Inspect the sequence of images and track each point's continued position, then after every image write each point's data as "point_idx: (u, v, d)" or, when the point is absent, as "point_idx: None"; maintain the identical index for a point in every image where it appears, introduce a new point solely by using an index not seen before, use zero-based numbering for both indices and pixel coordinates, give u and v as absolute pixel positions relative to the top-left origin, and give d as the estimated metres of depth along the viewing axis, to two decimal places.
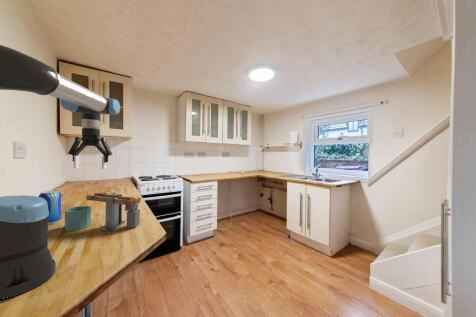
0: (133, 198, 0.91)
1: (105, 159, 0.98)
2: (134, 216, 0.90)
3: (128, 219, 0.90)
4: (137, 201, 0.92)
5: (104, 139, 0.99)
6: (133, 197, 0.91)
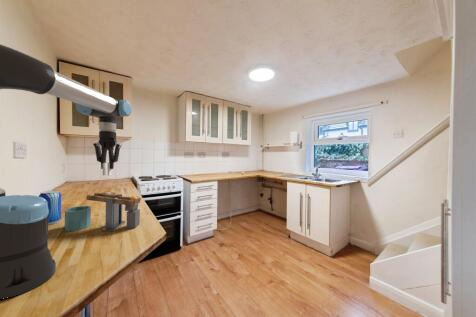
0: (133, 198, 0.91)
1: (111, 166, 0.99)
2: (134, 216, 0.90)
3: (128, 219, 0.90)
4: (137, 201, 0.92)
5: (119, 146, 0.99)
6: (133, 197, 0.91)
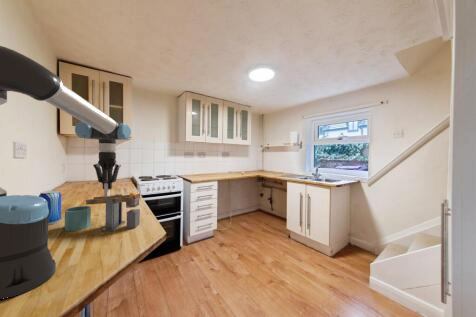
0: (132, 194, 0.91)
1: (109, 186, 0.99)
2: (134, 216, 0.90)
3: (128, 219, 0.90)
4: (137, 196, 0.92)
5: (119, 166, 1.00)
6: (132, 193, 0.91)
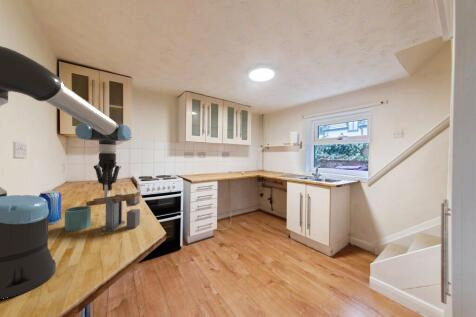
0: None
1: (109, 187, 0.99)
2: (134, 216, 0.90)
3: (128, 219, 0.90)
4: (136, 195, 0.92)
5: (119, 168, 1.00)
6: None
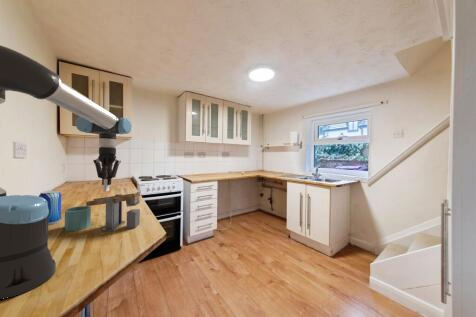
0: None
1: (108, 182, 0.98)
2: (134, 216, 0.90)
3: (128, 219, 0.90)
4: (136, 195, 0.92)
5: (118, 162, 0.99)
6: None
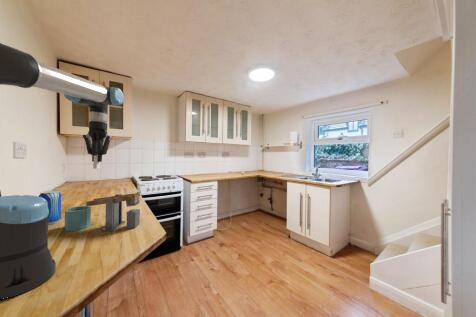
0: None
1: (98, 158, 0.93)
2: (134, 216, 0.90)
3: (128, 219, 0.90)
4: (136, 195, 0.92)
5: (110, 138, 0.94)
6: None
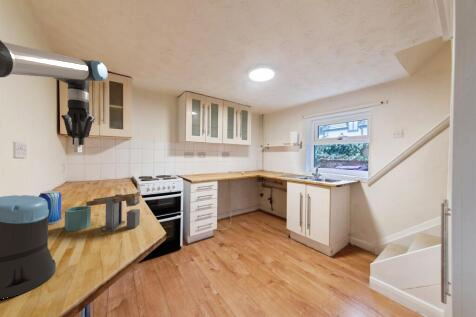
0: None
1: (80, 141, 0.85)
2: (134, 216, 0.90)
3: (128, 219, 0.90)
4: (136, 195, 0.92)
5: (92, 119, 0.86)
6: None
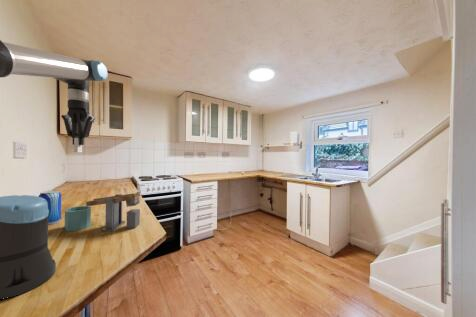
0: None
1: (80, 141, 0.85)
2: (134, 216, 0.90)
3: (128, 219, 0.90)
4: (136, 195, 0.92)
5: (92, 119, 0.86)
6: None
